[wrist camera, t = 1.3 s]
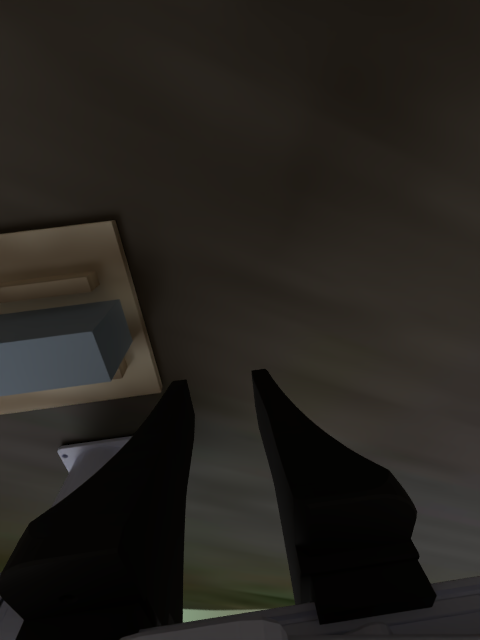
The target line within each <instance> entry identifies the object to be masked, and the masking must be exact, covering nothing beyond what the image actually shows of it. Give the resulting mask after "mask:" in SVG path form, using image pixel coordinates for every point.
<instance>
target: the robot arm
mask: <svg viewBox="0 0 480 640" xmlns="http://www.w3.org/2000/svg"><path fill="white" fill-rule="evenodd" d="M252 380H253V389H254V398H255V407H256V413H257V419H258V425H259V430H260V433H261V437H262V441H263V444H264V448H265V452H266V455H267V459H268V462H269V466H270V470H271V473H272V477H273V482H274V486H275V491H276V497H277V502H278V508H279V513H280V519H281V525H282V530H283V536H284V541H285V547H286V553H287V558H288V564H289V570H290V576H291V581H292V587H293V593H294V599H295V605H293V606H286V607H280V608H274V609H267V610H261V611H255V612H248V613H242V614H236V615H230V616H223V617H217V618H210V619H204V620H198V621H191V622H185V623H183V562H184V530H185V508H186V493H187V485H188V478H189V471H190V464H191V457H192V449H193V442H194V428H195V414H194V409H193V405H192V401H191V397H190V392H189V388H188V384H187V380H179V381H173V382H172V383H171V384H170V386H169V387H168V389H167V390H166V392H165V393H164V395H163V396H162V398H161V399H160V401H159V402H158V404H157V405H156V406H155V408H154V409H153V411H152V412H151V413H150V415H149V416H148V417H147V419H146V420H145V421H144V423H143V424H142V425H141V426H140V428H139V429H138V430H137V431H136V433H135V434H134V435H133V436H128V437H121V438H114V439H107V440H100V441H93V442H86V443H79V444H71V445H64V446H61V447H60V448H59V449H58V454H59V456H60V458H61V459H62V461H63V463H64V465H65V466H66V468H67V470H68V472H69V474H68V476H67V478H66V480H65V482H64V483H63V485H62V487H61V489H60V491H59V493H58V495H57V497H56V499H55V501H54V503H53V505H52V507H51V508H50V509H49V510H47V511H46V512H45V513H43V514H42V515H40V516H39V517H38V518H36V519H35V520H33V521H32V522H30V523H29V525H28V527H27V528H26V530H25V531H24V533H23V535H22V537H21V538H20V540H19V542H18V544H17V545H16V547H15V549H14V551H13V553H12V555H11V556H10V558H9V560H8V562H7V564H6V566H5V567H4V569H3V571H2V573H0V640H480V576H477V577H471V578H464V579H458V580H452V581H445V582H439V583H433V584H430V582H429V580H428V578H427V576H426V575H425V573H424V571H423V569H422V567H421V565H420V563H419V562H418V560H417V559H419V553H418V551H417V549H416V547H415V546H414V544H413V542H412V540H411V536H412V532H413V529H414V525H415V522H416V516H417V510H416V508H415V506H414V504H413V502H412V501H411V499H410V497H409V496H408V494H407V493H406V491H405V490H404V489H403V487H402V486H401V485H400V483H399V482H398V481H397V479H396V478H395V477H394V476H393V474H392V473H391V472H390V471H389V470H388V469H386V468H384V467H382V466H380V465H378V464H376V463H374V462H372V461H370V460H368V459H366V458H364V457H363V456H361V455H359V454H357V453H356V452H354V451H352V450H351V449H349V448H347V447H346V446H344V445H343V444H341V443H340V442H339V441H337V440H336V439H334V438H333V437H331V436H330V435H328V434H327V433H326V432H324V431H323V430H322V429H321V428H319V427H318V426H317V425H316V424H315V423H313V422H312V421H311V420H310V419H309V418H308V417H307V416H305V415H304V414H303V413H302V412H301V411H300V410H299V409H298V408H297V407H296V406H295V405H294V404H293V403H292V402H291V401H290V399H289V398H288V397H287V396H286V395H285V394H284V393H283V391H282V390H281V389H280V388H279V386H278V385H277V384H276V383H275V381H274V380H273V378H272V377H271V375H270V374H269V372H268V371H267V370H266V369H260V370H253V371H252Z"/></svg>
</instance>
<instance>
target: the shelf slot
mask: <svg viewBox="0 0 480 640" xmlns="http://www.w3.org/2000/svg"><path fill="white" fill-rule="evenodd" d="M117 299H120V302H121V306H122V309H123V312H124V315H125V318H126V321H127V325H128V328H129V331H130V334H131V337H132V340H133V342H132V344H131V345H130V347H129V349H128V351H127V353H126V355H125V357H124V358H123V360H122V362H121V364H120V366H119V368H118V370H117V371H116V373H115V375H114V377H113V379H112V381H111V382H104V383H96V384H89V385H81V386H74V387H67V388H59V389H52V390H44V391H37V392H30V393H22V394H15V395H7V396H0V415H1V414H9V413H16V412H23V411H31V410H38V409H45V408H52V407H60V406H67V405H74V404H82V403H89V402H96V401H104V400H111V399H118V398H126V397H133V396H140V395H148V394H155V393H161V391H162V387H163V386H162V382H161V379H160V375H159V372H158V368H157V365H156V361H155V358H154V354H153V351H152V347H151V344H150V340H149V337H148V333H147V330H146V326H145V323H144V319H143V316H142V312H141V309H140V305H139V302H138V298H137V295H136V291H135V287H134V284H133V280H132V277H131V273H130V270H129V266H128V263H127V259H126V256H125V252H124V249H123V245H122V242H121V238H120V235H119V231H118V228H117V224H116V221H115V220H110V221H101V222H93V223H85V224H77V225H68V226H60V227H52V228H43V229H35V230H27V231H19V232H10V233H2V234H0V314H8V313H16V312H24V311H32V310H39V309H47V308H55V307H63V306H71V305H78V304H86V303H94V302H102V301H110V300H117Z"/></svg>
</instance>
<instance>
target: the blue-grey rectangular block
mask: <svg viewBox="0 0 480 640" xmlns="http://www.w3.org/2000/svg"><path fill="white" fill-rule="evenodd" d="M132 342H133V340H132V337H131V334H130V331H129V328H128V325H127V321H126V318H125V315H124V312H123V309H122V306H121V302H120V299H117V300H110V301H102V302H94V303H86V304H78V305H71V306H63V307H55V308H47V309H39V310H32V311H24V312H16V313H8V314H0V396H7V395H15V394H22V393H30V392H37V391H44V390H52V389H59V388H67V387H74V386H81V385H89V384H96V383H104V382H111V381H112V379H113V377H114V375H115V373H116V371H117V370H118V368H119V366H120V364H121V362H122V360H123V358H124V357H125V355H126V353H127V351H128V349H129V347H130V345H131V344H132Z"/></svg>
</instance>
